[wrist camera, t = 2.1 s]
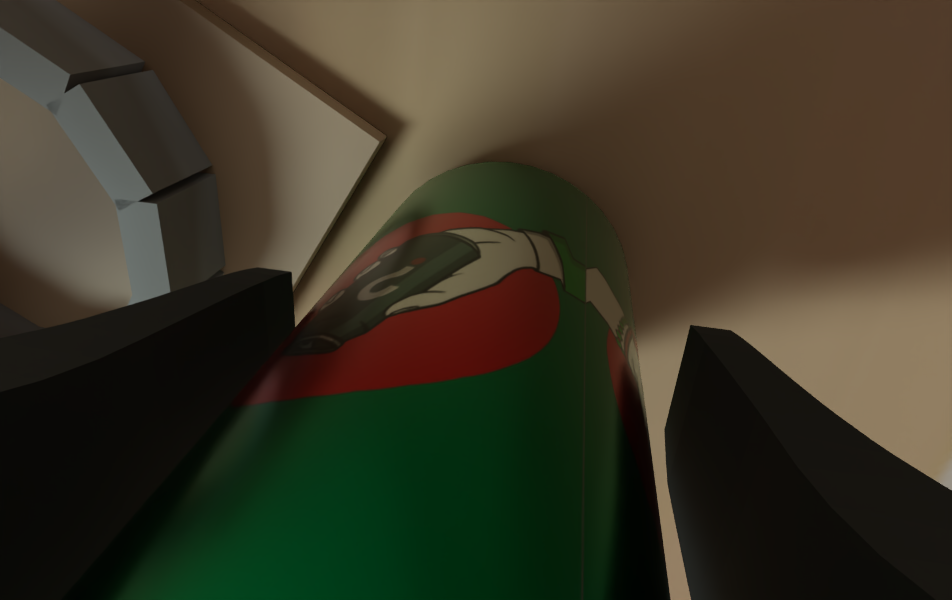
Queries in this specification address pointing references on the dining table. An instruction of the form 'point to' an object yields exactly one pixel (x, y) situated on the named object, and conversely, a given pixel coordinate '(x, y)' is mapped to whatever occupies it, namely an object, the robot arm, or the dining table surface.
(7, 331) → the can socket
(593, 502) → the soda can
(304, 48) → the dining table surface
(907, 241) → the dining table surface
